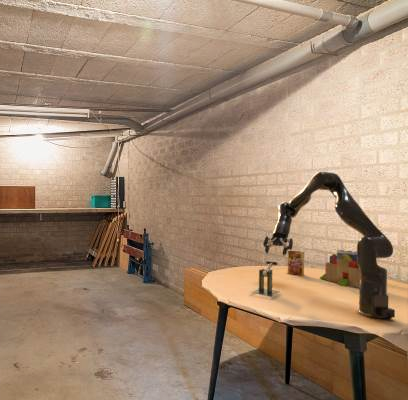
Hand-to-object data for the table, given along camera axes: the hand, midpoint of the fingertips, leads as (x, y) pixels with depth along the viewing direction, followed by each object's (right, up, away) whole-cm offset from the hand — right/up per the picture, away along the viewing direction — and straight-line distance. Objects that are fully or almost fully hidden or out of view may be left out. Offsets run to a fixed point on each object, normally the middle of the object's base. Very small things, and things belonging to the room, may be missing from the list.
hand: (275, 253), depth 185 cm
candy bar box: (+65, -20, +36) cm, 77 cm away
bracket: (-10, -19, -11) cm, 24 cm away
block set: (+49, -20, +14) cm, 55 cm away
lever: (-7, -8, -7) cm, 12 cm away
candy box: (+33, -20, +39) cm, 55 cm away
